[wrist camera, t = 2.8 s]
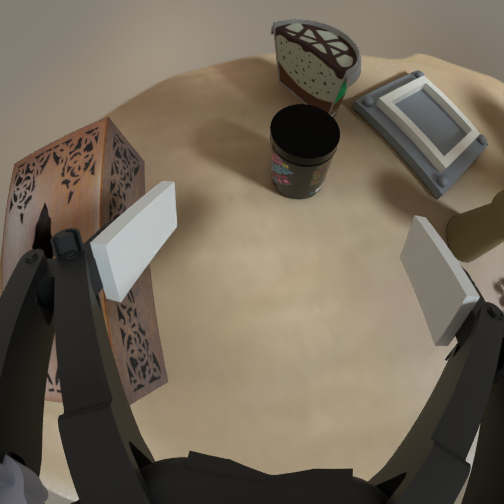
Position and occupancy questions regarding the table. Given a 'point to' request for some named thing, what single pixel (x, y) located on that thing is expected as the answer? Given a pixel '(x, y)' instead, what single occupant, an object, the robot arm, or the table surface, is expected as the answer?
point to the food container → (315, 62)
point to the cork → (477, 230)
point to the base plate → (423, 129)
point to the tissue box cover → (87, 237)
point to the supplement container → (302, 149)
